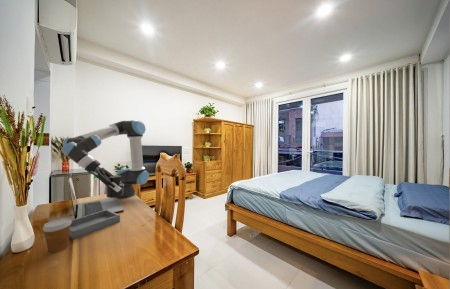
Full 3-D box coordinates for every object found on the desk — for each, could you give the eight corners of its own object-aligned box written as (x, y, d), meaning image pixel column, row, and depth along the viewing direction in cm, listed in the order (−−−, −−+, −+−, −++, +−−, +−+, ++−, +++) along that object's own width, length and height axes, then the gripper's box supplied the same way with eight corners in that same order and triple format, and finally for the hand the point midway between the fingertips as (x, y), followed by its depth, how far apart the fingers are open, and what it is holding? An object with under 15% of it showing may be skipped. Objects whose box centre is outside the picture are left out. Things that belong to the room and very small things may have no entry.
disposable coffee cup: (37, 253, 76) (36, 225, 75) (63, 240, 85) (62, 216, 84) (52, 257, 73) (51, 228, 72) (77, 244, 82) (76, 218, 81)
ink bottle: (127, 193, 112) (127, 175, 111) (117, 198, 103) (117, 178, 103) (113, 193, 113) (112, 174, 112) (102, 197, 104) (101, 177, 104)
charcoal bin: (107, 215, 112) (106, 209, 112) (119, 221, 104) (119, 215, 104) (61, 230, 94) (61, 223, 94) (72, 239, 85) (72, 231, 85)
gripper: (90, 166, 112) (119, 188, 118) (76, 171, 92) (112, 198, 98) (100, 157, 114) (128, 180, 120) (88, 161, 94) (122, 188, 100)
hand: (121, 188), depth 109 cm, fingers closed on ink bottle, 8 cm apart
